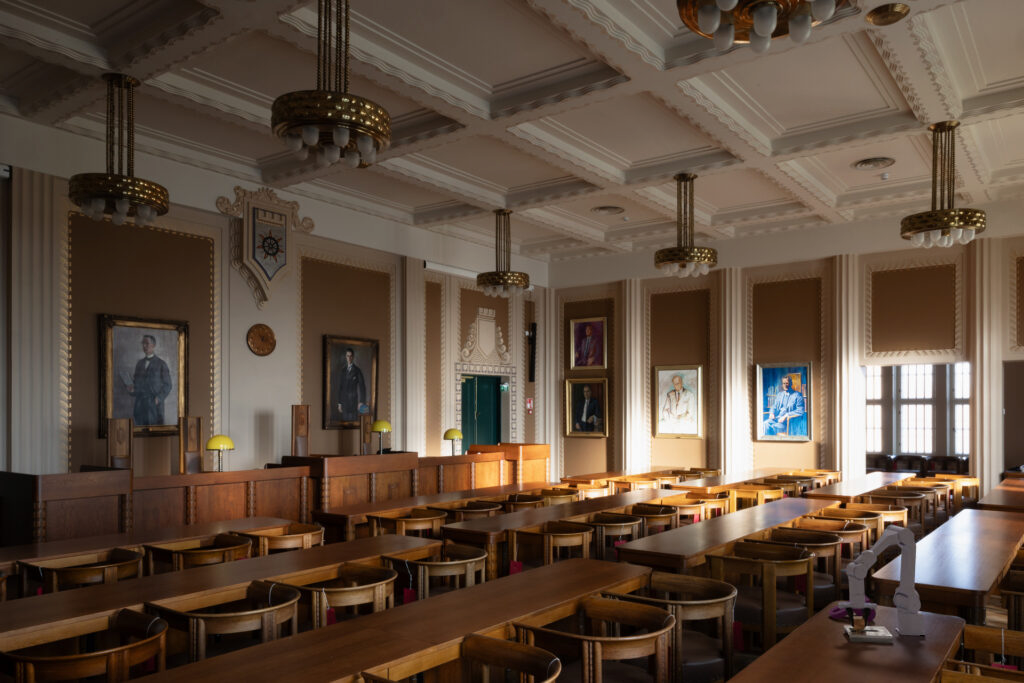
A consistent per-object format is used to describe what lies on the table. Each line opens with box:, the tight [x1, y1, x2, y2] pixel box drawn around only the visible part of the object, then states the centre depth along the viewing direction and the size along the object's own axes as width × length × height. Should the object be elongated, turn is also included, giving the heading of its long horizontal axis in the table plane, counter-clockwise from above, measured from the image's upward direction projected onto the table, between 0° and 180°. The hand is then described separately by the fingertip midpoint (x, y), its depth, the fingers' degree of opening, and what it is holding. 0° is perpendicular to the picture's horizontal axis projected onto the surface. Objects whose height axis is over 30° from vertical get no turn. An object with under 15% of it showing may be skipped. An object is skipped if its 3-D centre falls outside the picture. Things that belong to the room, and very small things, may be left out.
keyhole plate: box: [843, 624, 894, 644], centre depth 321 cm, size 16×12×3 cm
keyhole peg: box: [853, 615, 865, 633], centre depth 322 cm, size 4×4×8 cm
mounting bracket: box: [828, 595, 877, 622], centre depth 349 cm, size 9×8×18 cm
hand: (858, 626), depth 322 cm, fingers closed on keyhole peg, 4 cm apart
